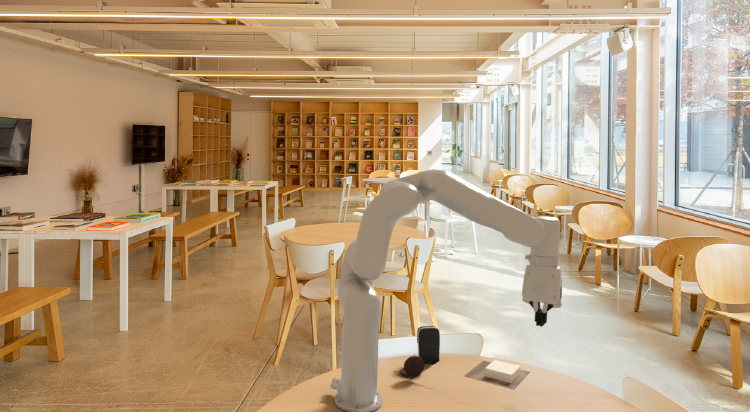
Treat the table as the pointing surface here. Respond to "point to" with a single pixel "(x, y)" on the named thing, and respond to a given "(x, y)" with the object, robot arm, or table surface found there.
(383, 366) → the table surface
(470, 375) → the board
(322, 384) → the table surface
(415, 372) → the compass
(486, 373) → the coaster
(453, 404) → the table surface
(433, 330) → the battery charger
